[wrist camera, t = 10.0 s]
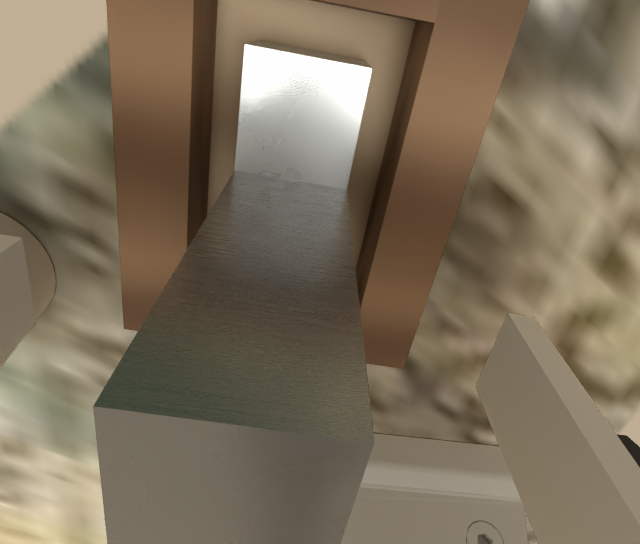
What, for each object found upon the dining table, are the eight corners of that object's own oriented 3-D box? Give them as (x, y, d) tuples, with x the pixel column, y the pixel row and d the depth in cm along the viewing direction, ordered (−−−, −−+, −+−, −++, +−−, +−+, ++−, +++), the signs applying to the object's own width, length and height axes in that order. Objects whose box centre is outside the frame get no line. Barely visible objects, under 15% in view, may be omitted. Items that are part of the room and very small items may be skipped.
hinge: (527, 449, 28) (578, 664, 21) (495, 472, 31) (530, 663, 25) (254, 420, 27) (220, 636, 20) (253, 448, 31) (224, 639, 24)
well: (392, 317, 23) (403, 368, 20) (154, 282, 22) (124, 328, 19) (498, -30, 16) (543, -42, 13) (149, -103, 15) (99, -136, 12)
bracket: (327, 250, 21) (326, 586, 9) (239, 235, 20) (109, 562, 8) (365, 59, 17) (462, 180, 5) (257, 39, 17) (61, 109, 4)
